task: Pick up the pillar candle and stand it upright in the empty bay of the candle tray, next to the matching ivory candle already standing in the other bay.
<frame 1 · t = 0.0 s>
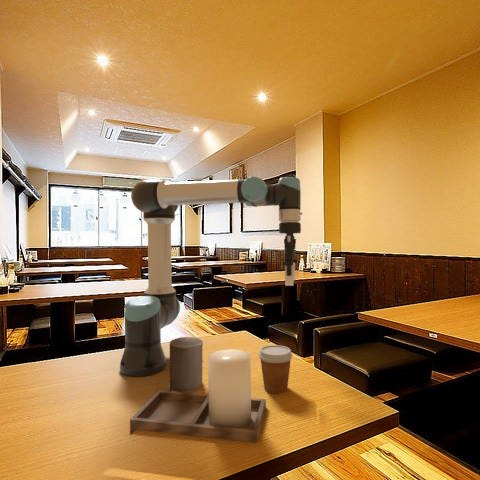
hand: (290, 282, 118), 28 cm above the table, tool pointing down, fingers open, 13 cm apart
candle tray: (201, 421, 80), on the table
pillar candle: (186, 388, 99), on the table
disposable coffee cup: (275, 392, 95), on the table
ivory candle: (230, 420, 79), point 1 cm above the table, touching candle tray
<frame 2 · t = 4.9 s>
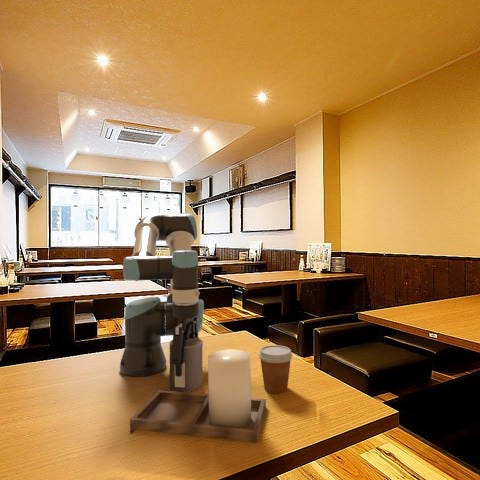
hand: (186, 378, 99), 3 cm above the table, tool pointing down, fingers closed on pillar candle, 10 cm apart
pillar candle: (186, 388, 99), on the table, touching gripper
everything else where it was.
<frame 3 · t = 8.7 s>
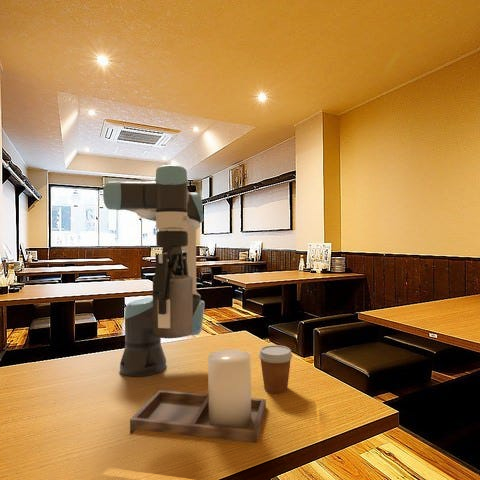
hand: (173, 322, 82), 24 cm above the table, tool pointing down, fingers closed on pillar candle, 10 cm apart
pillar candle: (173, 333, 82), point 21 cm above the table, touching gripper
everything else where it was.
when the fingers open (6 cm above the table, at t = 12.9 s): pillar candle drops 2 cm, resting on candle tray.
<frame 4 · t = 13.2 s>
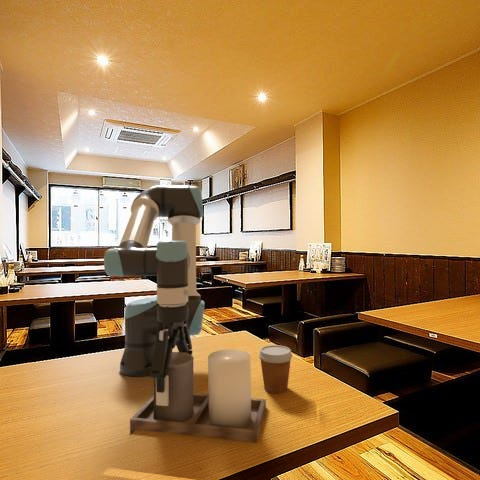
hand: (173, 391, 82), 7 cm above the table, tool pointing down, fingers open, 12 cm apart
pillar candle: (174, 415, 82), point 1 cm above the table, touching candle tray
everything else where it was.
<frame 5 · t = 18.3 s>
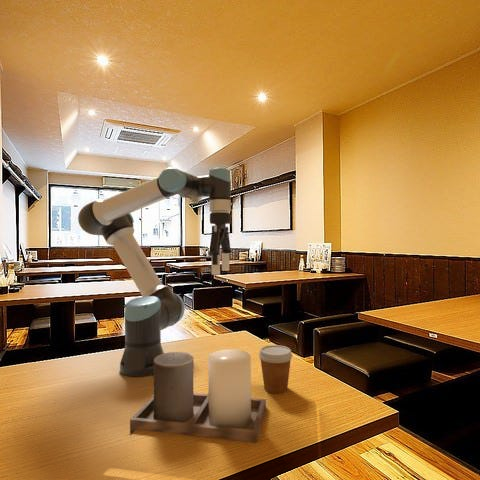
hand: (221, 272, 119), 32 cm above the table, tool pointing down, fingers open, 13 cm apart
nothing on the table moved.
at the end: pillar candle 0.1 cm from the target spot on the candle tray, point 0.8 cm above the candle tray's base; pillar candle tilted 0°; the gripper is holding nothing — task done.
